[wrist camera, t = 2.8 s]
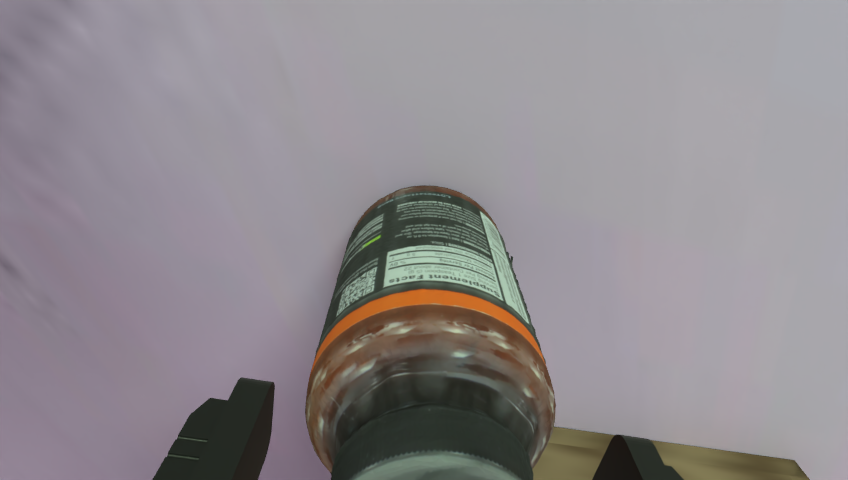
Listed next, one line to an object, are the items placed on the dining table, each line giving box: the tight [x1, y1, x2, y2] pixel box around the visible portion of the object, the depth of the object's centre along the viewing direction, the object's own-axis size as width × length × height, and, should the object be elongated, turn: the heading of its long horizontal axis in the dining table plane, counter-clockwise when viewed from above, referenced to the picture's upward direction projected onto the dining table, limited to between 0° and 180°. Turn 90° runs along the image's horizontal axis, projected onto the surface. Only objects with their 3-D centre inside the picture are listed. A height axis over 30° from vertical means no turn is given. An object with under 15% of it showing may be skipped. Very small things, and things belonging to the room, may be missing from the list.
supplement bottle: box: [305, 186, 556, 480], centre depth 14 cm, size 6×6×11 cm
